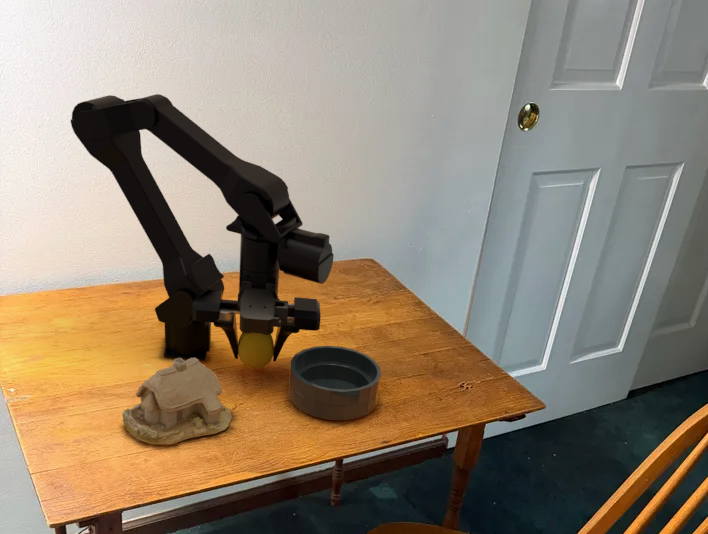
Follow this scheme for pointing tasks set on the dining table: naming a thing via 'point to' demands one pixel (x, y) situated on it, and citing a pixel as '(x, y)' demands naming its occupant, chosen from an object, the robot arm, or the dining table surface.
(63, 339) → the dining table surface
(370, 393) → the grey pet bowl
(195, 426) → the ceramic model
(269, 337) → the lemon
